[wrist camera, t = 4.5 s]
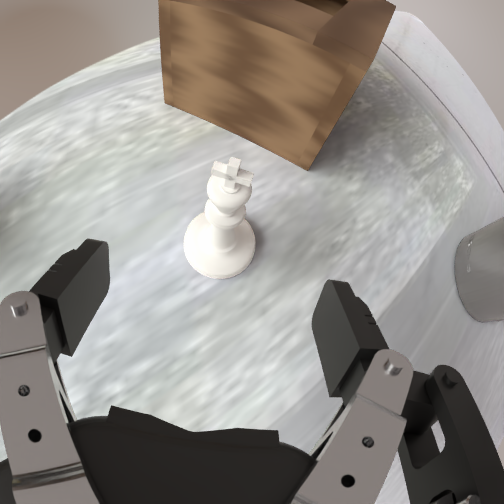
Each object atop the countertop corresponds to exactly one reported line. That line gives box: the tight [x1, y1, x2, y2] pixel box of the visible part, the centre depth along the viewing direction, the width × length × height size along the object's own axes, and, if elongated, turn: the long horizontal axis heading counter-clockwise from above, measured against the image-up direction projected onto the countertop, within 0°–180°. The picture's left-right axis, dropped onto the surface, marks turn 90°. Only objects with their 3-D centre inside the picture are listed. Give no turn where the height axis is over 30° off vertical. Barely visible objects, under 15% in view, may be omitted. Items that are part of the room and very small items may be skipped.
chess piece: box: [184, 157, 255, 279], centre depth 16 cm, size 5×5×10 cm
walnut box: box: [158, 0, 396, 171], centre depth 20 cm, size 14×14×12 cm
